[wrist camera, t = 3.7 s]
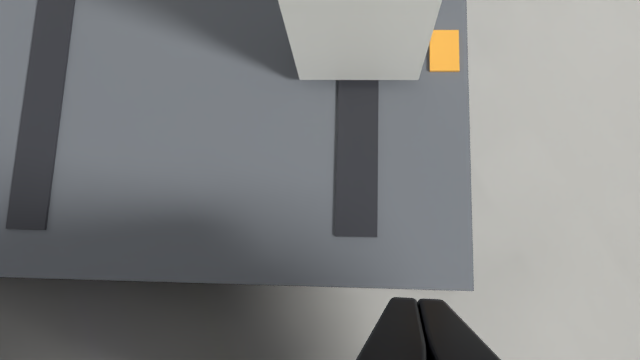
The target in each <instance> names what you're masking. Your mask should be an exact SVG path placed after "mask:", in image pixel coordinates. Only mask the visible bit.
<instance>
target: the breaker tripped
mask: <svg viewBox="0 0 640 360" xmlns="http://www.w3.org/2000/svg"><path fill="white" fill-rule="evenodd" d="M278 2H279V6H280V10H281V13H282V17H283V21H284V24H285V28H286V32H287V35H288V39H289V43H290V46H291V50H292V54H293V57H294V61H295V65H296V68H297V72H298V76H299V79H300V80H419V77H420V73H421V70H422V66H423V63H424V60H425V56H426V53H427V50H428V46H429V43H430V39H431V36H432V33H433V29H434V26H435V23H436V19H437V16H438V13H439V9H440V6H441V2H442V0H278Z"/></svg>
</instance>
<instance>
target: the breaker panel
mask: <svg viewBox="0 0 640 360" xmlns="http://www.w3.org/2000/svg"><path fill="white" fill-rule="evenodd" d="M0 277H10V278H44V279H79V280H113V281H147V282H181V283H215V284H250V285H284V286H318V287H352V288H386V289H420V290H455V291H474V280H473V241H472V202H471V163H470V124H469V85H468V46H467V7H466V0H442V2H441V6H440V9H439V13H438V16H437V19H436V23H435V26H434V29H433V33H432V36H431V39H430V43H429V46H428V50H427V53H426V56H425V60H424V63H423V66H422V70H421V73H420V77H419V80H300V79H299V76H298V72H297V68H296V65H295V61H294V57H293V54H292V50H291V46H290V43H289V39H288V35H287V32H286V28H285V24H284V21H283V17H282V13H281V10H280V6H279V2H278V0H0Z"/></svg>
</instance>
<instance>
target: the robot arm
mask: <svg viewBox="0 0 640 360" xmlns="http://www.w3.org/2000/svg"><path fill="white" fill-rule="evenodd" d="M356 360H501V359H500V358H499V357H498V356H497V355H496V354H495V353H494V352H493V351H492V350H491V349H490V348H489V347H488V346H487V345H486V344H485V343H484V342H483V341H482V340H481V339H480V338H479V337H478V336H477V335H476V334H475V332H474V331H473V330H472V329H471V328H470V327H469V326H468V325H467V324H466V323H465V322H464V321H463V320H462V319H461V318H460V317H459V316H458V315H457V314H456V313H455V312H454V311H453V310H452V309H451V308H450V307H449V305H448V304H447V303H446V302H444V301H443V300H438V299H420V300H418V302H417V301H416V300H415V299H414V298H399V297H394V298H392V299H391V300H390V301H389V303H388V305H387V306H386V308H385V310H384V312H383V313H382V315H381V317H380V319H379V320H378V322H377V324H376V326H375V327H374V329H373V331H372V333H371V334H370V336H369V338H368V340H367V341H366V343H365V345H364V347H363V348H362V350H361V352H360V354H359V355H358V357H357V359H356Z"/></svg>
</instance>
